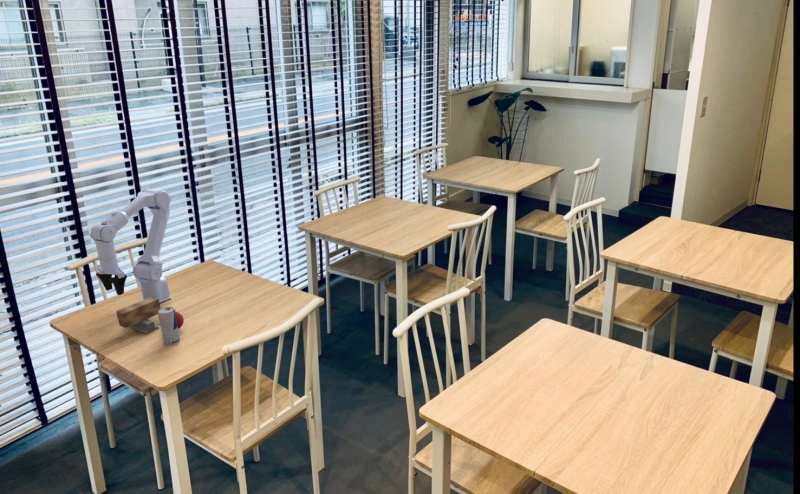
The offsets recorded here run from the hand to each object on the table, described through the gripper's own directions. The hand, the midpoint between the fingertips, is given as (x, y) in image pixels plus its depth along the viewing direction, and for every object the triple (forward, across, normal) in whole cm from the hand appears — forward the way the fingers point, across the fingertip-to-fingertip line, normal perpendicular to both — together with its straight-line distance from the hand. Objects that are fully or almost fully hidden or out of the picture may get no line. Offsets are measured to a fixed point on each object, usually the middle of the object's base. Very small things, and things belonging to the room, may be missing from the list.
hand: (114, 292), depth 230 cm
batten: (+7, +14, 0) cm, 16 cm away
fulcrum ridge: (+10, +14, 0) cm, 17 cm away
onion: (+11, +27, +5) cm, 29 cm away
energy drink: (+11, +33, -1) cm, 35 cm away
